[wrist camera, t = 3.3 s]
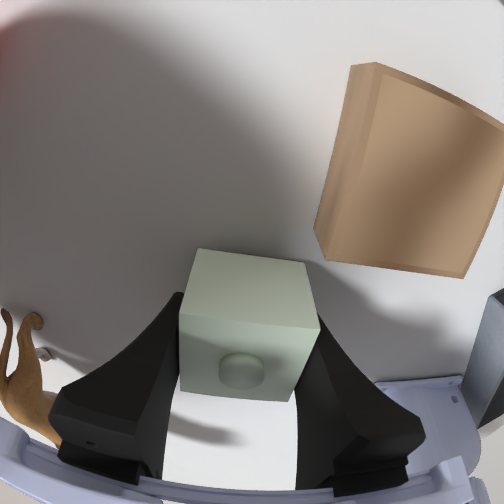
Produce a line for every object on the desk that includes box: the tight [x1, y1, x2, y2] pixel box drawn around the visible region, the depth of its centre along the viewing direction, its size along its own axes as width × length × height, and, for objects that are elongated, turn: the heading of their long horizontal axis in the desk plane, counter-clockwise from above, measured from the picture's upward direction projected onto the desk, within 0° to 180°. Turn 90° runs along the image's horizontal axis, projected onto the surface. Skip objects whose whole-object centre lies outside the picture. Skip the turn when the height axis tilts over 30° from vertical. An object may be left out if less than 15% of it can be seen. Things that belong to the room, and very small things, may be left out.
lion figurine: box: [0, 308, 62, 449], centre depth 15 cm, size 15×5×9 cm, turn 37°
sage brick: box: [179, 248, 321, 402], centre depth 12 cm, size 4×4×4 cm
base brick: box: [313, 62, 504, 279], centre depth 10 cm, size 7×7×2 cm
